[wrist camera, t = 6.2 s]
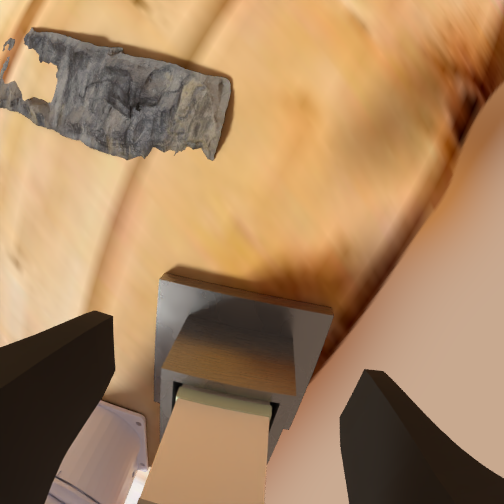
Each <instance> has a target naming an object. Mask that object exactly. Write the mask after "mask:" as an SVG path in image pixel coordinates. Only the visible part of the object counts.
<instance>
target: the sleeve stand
mask: <svg viewBox="0 0 504 504" xmlns="http://www.w3.org/2000/svg"><path fill="white" fill-rule="evenodd" d="M333 316H334V315H333V312H332V309H331V307H325V306H320V305H315V304H309V303H304V302H299V301H294V300H289V299H284V298H279V297H274V296H269V295H264V294H259V293H254V292H249V291H245V290H240V289H235V288H230V287H226V286H221V285H217V284H212V283H207V282H203V281H199V280H194V279H190V278H185V277H181V276H177V275H172V274H168V273H164V274H163V276H162V277H161V278H160V279H159V289H158V303H157V319H156V338H155V365H154V401H155V402H158V403H160V443H161V440H162V437H163V435H164V432H165V430H166V427H167V424H168V422H169V419H170V416H171V414H172V411H173V408H174V406H175V403H176V395H177V392H178V390H179V387H182V385H183V384H187V385H191V386H195V387H200V388H204V389H208V390H212V391H217V392H222V393H226V394H231V395H236V396H241V397H246V398H252V399H257V400H263V401H269V402H270V406H272V415H271V419H270V422H269V433H268V451H267V464H268V461H269V459H270V457H271V455H272V453H273V450H274V448H275V446H276V444H277V441H278V439H279V437H280V435H281V432H282V430H283V429H288V430H289V428H290V426H291V424H292V421H293V419H294V417H295V415H296V412H297V410H298V407H299V405H300V403H301V401H302V398H303V396H304V393H305V391H306V388H307V386H308V384H309V381H310V379H311V376H312V373H313V371H314V368H315V366H316V363H317V361H318V358H319V355H320V353H321V350H322V347H323V345H324V342H325V339H326V336H327V334H328V331H329V328H330V325H331V322H332V319H333Z"/></svg>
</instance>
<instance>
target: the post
mask: <svg viewBox="0 0 504 504" xmlns="http://www.w3.org/2000/svg"><path fill="white" fill-rule="evenodd" d="M271 415H272V406H270V402H269V401H263V400H257V399H252V398H246V397H241V396H236V395H231V394H226V393H222V392H217V391H212V390H208V389H204V388H200V387H195V386H191V385H187V384H183V385H182V387H179V390H178V392H177V395H176V403H175V406H174V408H173V411H172V414H171V416H170V419H169V422H168V424H167V427H166V430H165V432H164V435H163V437H162V440H161V443H160V445H159V448H158V451H157V453H156V456H155V459H154V461H153V464H152V467H151V470H150V472H149V475H148V478H147V480H146V483H145V486H144V488H143V491H142V494H141V497H140V498H139V500H138V503H137V504H264V500H265V484H266V468H267V467H266V466H267V451H268V433H269V422H270V419H271Z"/></svg>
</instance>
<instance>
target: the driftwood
mask: <svg viewBox="0 0 504 504" xmlns="http://www.w3.org/2000/svg"><path fill="white" fill-rule="evenodd" d="M24 41H25V45H27V46H28V49H32V48H33V49H34V50H36V52H37V53H38V54H39V61H40V63H41V62H42V61H44V62H46V63H50V62H51V63H53V64H54V65H57V68H58V72H57V74H56V77H57V80H58V81H57V85H56V90H55V94H54V97H53V100H52V102H51V103H50V102H49V103H47V102H45V101H44V100H42V99H38V98H35V97H33V98H32V99H30V100H29V99H27V100H26V101H23V100H22V94H21V91H20V90H19V88H18V86H17V84H16V82H15V81H13V82H10V83H9V84H4V81H3V79H2V76H3V73H4V71H5V70H6V68H7V66H8V62H9V57H10V56H9V57H8V58H7V59H8V61H5V63H4V64H3V65H4V66H3V68H2V70H1V73H0V108H7V109H9V110H10V111H14V112H15V111H16V112H19V113H21V114H22V115H24V116H25V117H27V118H28V119H30V120H31V121H32V122H33V123H35V124H36V125H38V126H43V127H46V128H47V129H53V130H55V131H56V132H58V133H60V135H62V136H65V137H68V138H71V139H74V140H80V141H82V142H83V143H84V144H85V145H86V146H89V147H90V148H93V149H96V150H98V151H101V152H104V153H107V154H111V155H113V156H119V157H122V158H124V159H126V160H129V159H132V158H135V157H137V156H142V157H143V158H144V159H145V157H146V156H148V154H149V153H150V151H151V149H152V148H153V147H156V148H157V149H159V150H161V151H163V152H165V151H168V150H174V151H176V152H175V154H176V153H178V151H181V152H182V151H183V150H185V148H186V147H191V148H192V149H198V148H202V150H203V152H204V154H205V155H206V157H207V159H210V160H212V161H213V159H214V154H215V153H216V148H217V146H218V141H219V138H220V136H221V129H222V127H223V126H222V125H223V123H224V119H225V112H226V109H227V107H228V101H229V99H230V94H231V90H230V87H231V86H230V85H231V84H230V81H229V80H228V79H227V78H223V77H218V76H216V77H215V76H209V75H204V74H201V73H198V72H195V71H191V70H188V69H184V68H182V67H180V66H178V65H177V64H172V63H166V62H164V61H158V60H154V59H150V58H142V57H133V56H130V55H128V54H123V53H124V52H123V48H120V47H116V48H114V47H112V48H110V47H101V46H95V45H93V44H92V43H89V42H81V41H80V40H77V39H74V38H71V37H70V36H69V37H67V36H66V35H61V34H58V33H53V32H40V33H39V32H36V31H34V29H33V28H31V30H30V32H29V33H27V34H26V36H25V38H24ZM7 43H8V44H9V48H8V50H9V51H10V50H11V48H13V46H14V43H15V39H12V38H10V39H9V40H8V41H7V42H5V44H4V48H3V51H4V50H5V46H6V45H7ZM7 59H6V60H7ZM175 154H174V155H175Z"/></svg>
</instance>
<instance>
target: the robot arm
mask: <svg viewBox="0 0 504 504" xmlns="http://www.w3.org/2000/svg"><path fill="white" fill-rule="evenodd" d="M114 372H115V358H114V337H113V316H111V315H108V314H104V313H101V312H98V311H92V312H89V313H86V314H84V315H81V316H79V317H76V318H74V319H71V320H69V321H67V322H64V323H62V324H60V325H57V326H55V327H52V328H50V329H48V330H45V331H43V332H41V333H38V334H36V335H33V336H30V337H28V338H25V339H22V340H20V341H17V342H14V343H11V344H9V345H6V346H3V347H0V504H124V503H125V500H126V498H127V495H128V493H129V490H130V488H131V485H132V483H133V480H134V478H135V475H136V473H137V470H141V471H144V472H146V471H148V456H147V441H146V423H145V417H144V416H143V415H141V414H139V413H136V412H133V411H130V410H127V409H124V408H121V407H118V406H115V405H112V404H110V403H107V402H104V401H102V400H101V399H102V397H103V395H104V393H105V391H106V389H107V387H108V385H109V383H110V381H111V378H112V376H113V374H114ZM340 447H341V454H342V459H343V466H344V472H345V479H346V484H347V492H348V498H349V504H504V478H502V477H500V476H499V475H497V474H495V473H494V472H492V471H491V470H489V469H488V468H486V467H485V466H483V465H482V464H481V463H479V462H478V461H477V460H475V459H474V458H473V457H471V456H470V455H469V454H467V453H466V452H465V451H464V450H462V449H461V448H460V447H459V446H458V445H456V444H455V443H454V442H453V441H452V440H451V439H450V438H449V437H448V436H447V435H446V434H445V433H444V432H442V431H441V430H440V429H439V428H438V427H437V426H436V425H435V424H434V423H433V422H432V421H431V420H430V419H429V418H428V417H427V416H426V415H425V414H424V413H423V411H422V410H420V408H419V407H418V406H417V405H416V404H415V403H414V402H413V401H412V400H411V399H410V398H409V397H408V396H407V395H406V393H405V392H403V390H401V388H400V387H399V386H398V385H397V384H396V383H395V382H394V381H393V380H392V379H391V378H390V377H389V376H388V375H387V374H386V373H384V372H383V371H376V370H368V369H367V370H366V369H364V371H363V374H362V375H361V377H360V380H359V381H358V384H357V386H356V388H355V389H354V392H353V393H352V396H351V397H350V399H349V401H348V403H347V405H346V407H345V409H344V410H343V412H342V414H341V416H340Z"/></svg>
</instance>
